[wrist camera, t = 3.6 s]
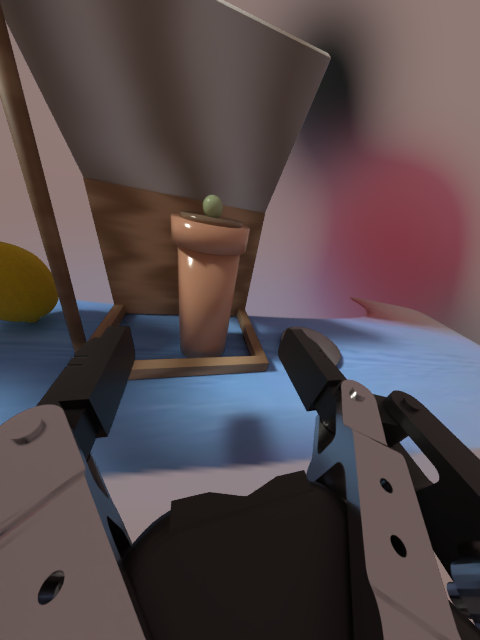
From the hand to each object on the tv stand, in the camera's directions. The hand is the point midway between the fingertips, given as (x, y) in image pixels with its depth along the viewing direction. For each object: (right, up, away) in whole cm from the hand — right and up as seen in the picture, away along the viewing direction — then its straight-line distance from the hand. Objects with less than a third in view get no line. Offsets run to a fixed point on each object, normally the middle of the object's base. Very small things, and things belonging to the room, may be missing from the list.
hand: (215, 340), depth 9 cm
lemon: (-20, +1, +9) cm, 22 cm away
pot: (-3, -2, +10) cm, 10 cm away
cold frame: (-5, -1, +10) cm, 12 cm away
